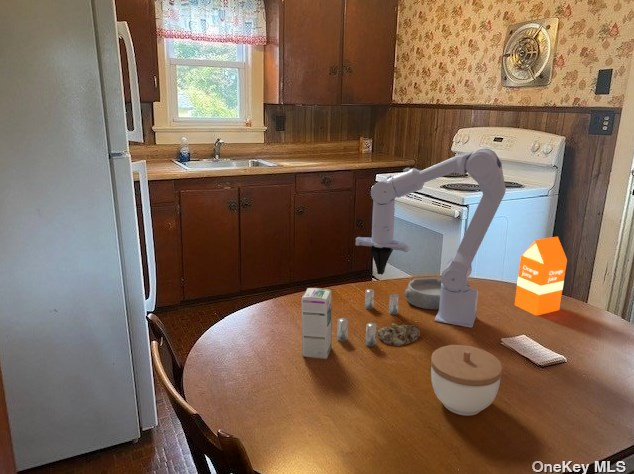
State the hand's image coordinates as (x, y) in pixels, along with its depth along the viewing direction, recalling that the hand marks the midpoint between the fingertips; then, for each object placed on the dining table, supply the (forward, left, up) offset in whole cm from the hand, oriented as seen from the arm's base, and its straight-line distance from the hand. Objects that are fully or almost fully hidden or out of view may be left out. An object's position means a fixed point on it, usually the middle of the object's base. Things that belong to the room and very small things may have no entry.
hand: (380, 273), depth 133 cm
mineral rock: (-10, +16, -10) cm, 22 cm away
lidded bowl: (-28, +37, -10) cm, 47 cm away
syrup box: (+5, +31, -10) cm, 33 cm away
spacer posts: (-1, +13, -9) cm, 16 cm away
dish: (-12, -9, -10) cm, 18 cm away
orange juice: (-40, -17, -10) cm, 45 cm away
